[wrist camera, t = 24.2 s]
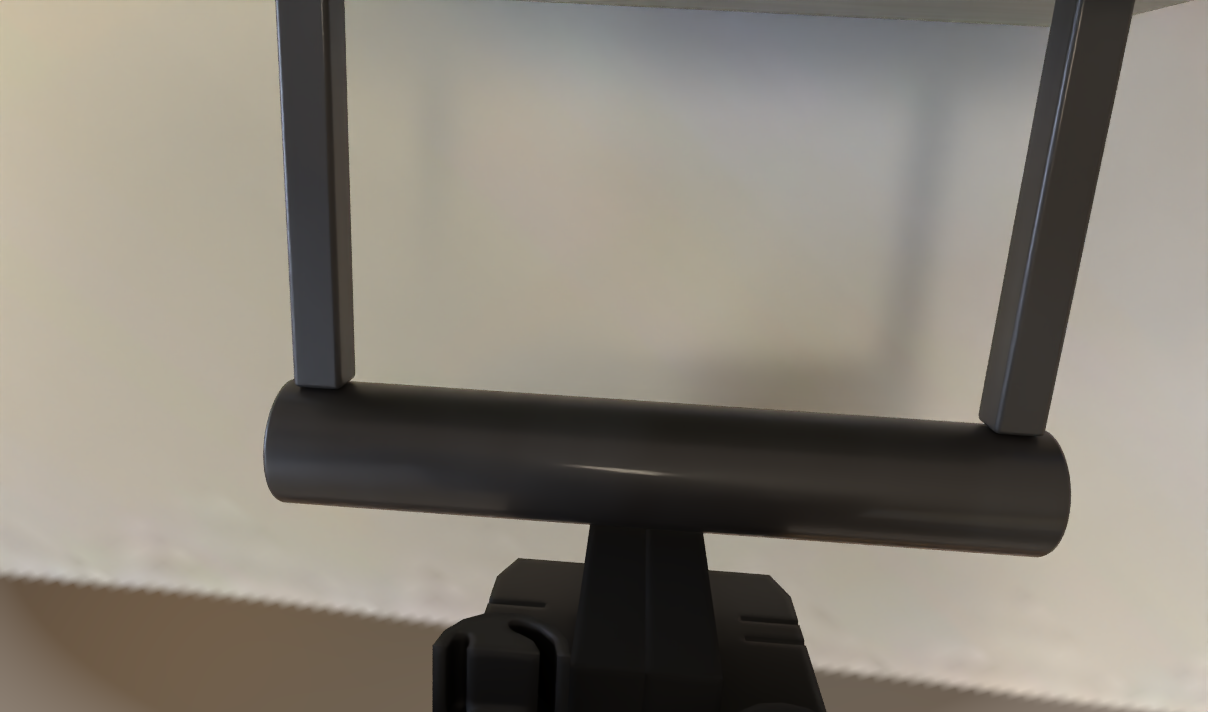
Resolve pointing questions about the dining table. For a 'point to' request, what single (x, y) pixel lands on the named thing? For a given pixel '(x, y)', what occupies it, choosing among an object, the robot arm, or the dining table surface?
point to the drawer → (688, 431)
